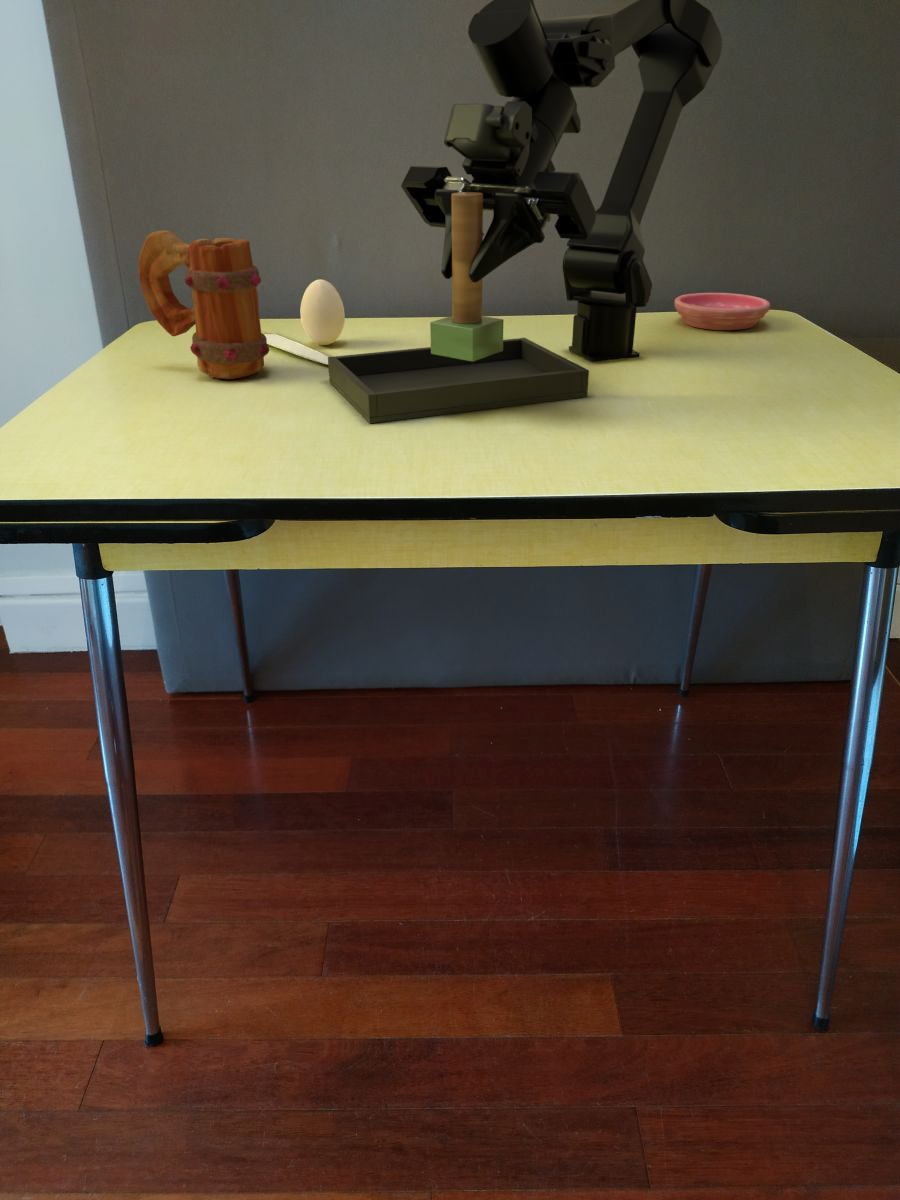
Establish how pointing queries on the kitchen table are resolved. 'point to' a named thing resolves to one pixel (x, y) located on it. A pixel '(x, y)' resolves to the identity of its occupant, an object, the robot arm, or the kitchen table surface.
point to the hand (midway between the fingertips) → (458, 277)
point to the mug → (208, 300)
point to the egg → (322, 312)
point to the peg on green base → (466, 291)
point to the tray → (453, 381)
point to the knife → (294, 347)
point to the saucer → (721, 310)
